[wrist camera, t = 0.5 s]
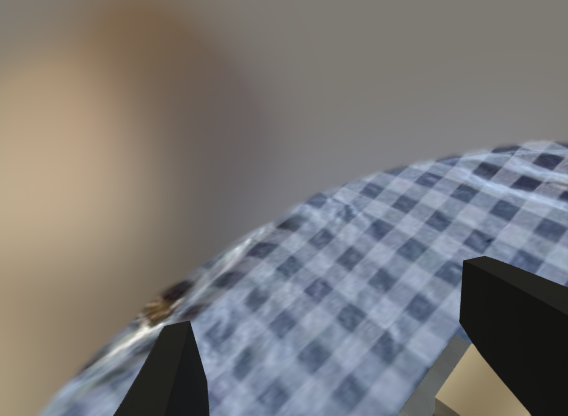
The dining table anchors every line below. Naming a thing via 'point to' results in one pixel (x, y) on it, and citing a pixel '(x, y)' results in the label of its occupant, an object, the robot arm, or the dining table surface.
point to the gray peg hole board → (435, 380)
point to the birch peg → (476, 391)
